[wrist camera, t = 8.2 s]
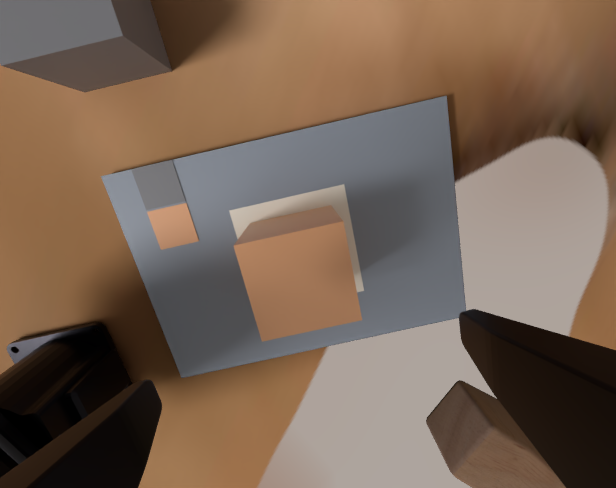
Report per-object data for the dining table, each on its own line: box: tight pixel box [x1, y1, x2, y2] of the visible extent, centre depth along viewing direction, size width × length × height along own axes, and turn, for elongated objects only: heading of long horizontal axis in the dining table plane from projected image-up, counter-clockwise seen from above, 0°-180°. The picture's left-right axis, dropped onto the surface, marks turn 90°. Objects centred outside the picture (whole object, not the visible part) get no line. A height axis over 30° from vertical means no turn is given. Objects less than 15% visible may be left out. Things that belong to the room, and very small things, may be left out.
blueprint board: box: [101, 96, 466, 378], centre depth 19 cm, size 20×14×1 cm
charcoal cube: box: [0, 0, 172, 92], centre depth 14 cm, size 5×5×5 cm
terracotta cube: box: [234, 205, 362, 342], centre depth 17 cm, size 5×5×5 cm
